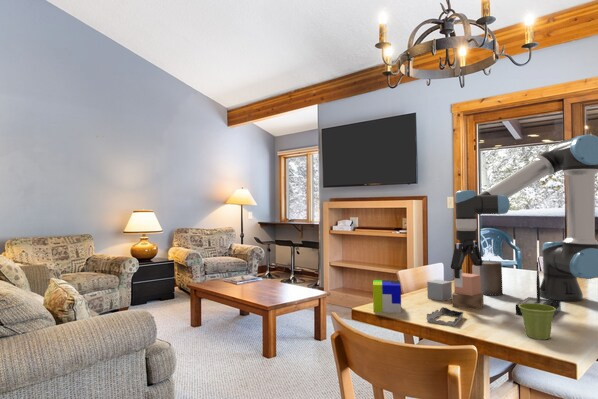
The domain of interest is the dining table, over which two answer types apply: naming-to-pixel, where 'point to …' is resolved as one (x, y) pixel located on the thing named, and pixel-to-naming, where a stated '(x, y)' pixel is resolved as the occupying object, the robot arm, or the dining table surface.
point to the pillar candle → (491, 278)
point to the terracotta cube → (469, 284)
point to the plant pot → (537, 320)
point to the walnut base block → (468, 301)
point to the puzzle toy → (387, 296)
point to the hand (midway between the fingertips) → (467, 284)
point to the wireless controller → (539, 301)
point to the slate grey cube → (439, 290)
